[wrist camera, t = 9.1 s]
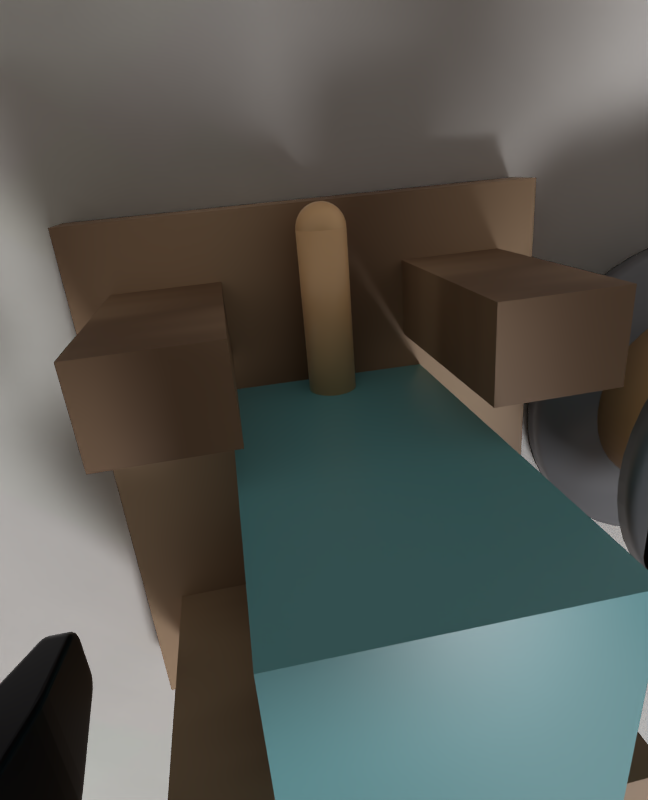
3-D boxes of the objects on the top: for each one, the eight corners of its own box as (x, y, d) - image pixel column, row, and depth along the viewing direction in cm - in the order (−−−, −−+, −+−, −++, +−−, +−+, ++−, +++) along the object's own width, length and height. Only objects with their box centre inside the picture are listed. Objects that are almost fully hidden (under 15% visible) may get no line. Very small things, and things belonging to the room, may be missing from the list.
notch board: (510, 177, 12) (872, 179, 5) (494, 590, 16) (684, 868, 10) (62, 223, 10) (-172, 298, 4) (174, 658, 15) (145, 1028, 8)
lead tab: (418, 190, 10) (743, 211, 4) (421, 522, 13) (615, 842, 7) (201, 209, 10) (185, 270, 4) (253, 552, 13) (296, 930, 6)
